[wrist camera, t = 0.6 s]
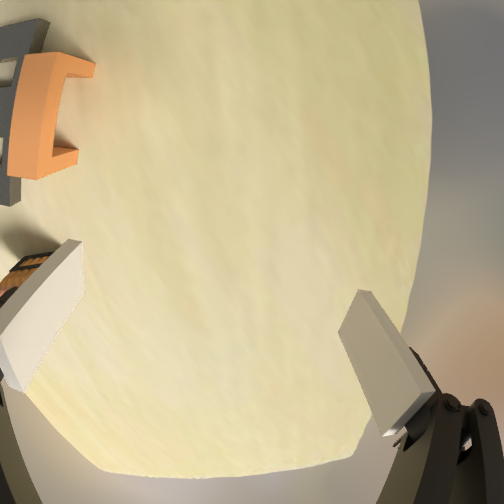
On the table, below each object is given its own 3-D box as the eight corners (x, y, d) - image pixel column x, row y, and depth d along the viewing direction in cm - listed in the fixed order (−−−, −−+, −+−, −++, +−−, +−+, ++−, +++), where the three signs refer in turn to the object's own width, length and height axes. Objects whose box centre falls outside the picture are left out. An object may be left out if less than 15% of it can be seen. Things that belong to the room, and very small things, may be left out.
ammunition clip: (68, 249, 38) (28, 290, 28) (72, 259, 39) (34, 303, 28) (23, 256, 38) (-16, 293, 27) (27, 266, 39) (-11, 304, 28)
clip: (66, 63, 27) (24, 54, 18) (96, 63, 28) (57, 51, 19) (49, 160, 32) (7, 175, 23) (76, 163, 33) (36, 180, 24)
